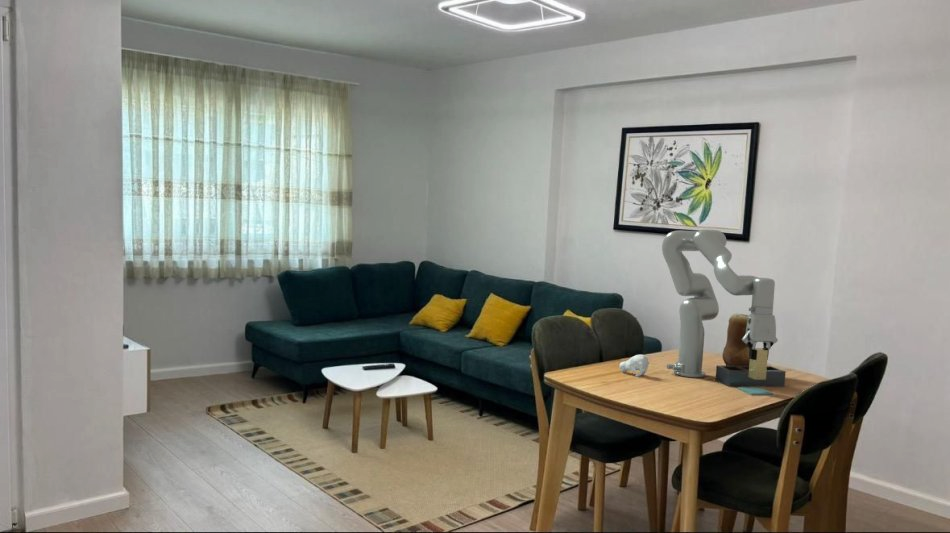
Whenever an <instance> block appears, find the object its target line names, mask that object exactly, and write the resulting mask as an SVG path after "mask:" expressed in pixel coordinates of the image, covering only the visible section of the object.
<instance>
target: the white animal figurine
mask: <svg viewBox="0 0 950 533" xmlns="http://www.w3.org/2000/svg"><path fill="white" fill-rule="evenodd" d="M649 364H650V362H649V358H648V357H647V356H646V355H644V354H635V355H634V356H632V357H631V358H629V359H627V360H625V361H621V362H620V363H619V369H620V371H621V372H622V373H623V374H624V373H627V372H628V371H631V373H634V374H635V373H636V374H635V378H638V377H641V376H644V375H646V373H647V370H648V368H649ZM637 371H639V372H637Z"/></svg>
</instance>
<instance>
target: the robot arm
mask: <svg viewBox="0 0 950 533" xmlns="http://www.w3.org/2000/svg"><path fill="white" fill-rule="evenodd" d="M726 245H727V238H726V235H725V234H724V232H722V231H720V230H718V229H701V230H673V231H670V232H668V233H667V234H666V235H665V237H663V240H662V244H661V249H662V250H661V251H662V255H663V258H664V260H665V263H666V265H667V268H668V270H669V274H670V277H671V279H672V282H673V285H674V287H675V288H674V289H675V290H676V293H677V294H679V296H682V297H688V298H686V299H685V300H683V301H682V302H681V303H680V305H679V310H678V312H679V320H680V327H679V328H680V330H679V331H680V332H679V346H678V347H679V348H678V358H677V360H678V361H675V363H674V364H669V363H667V364H666V369H667V370H673V373H674V374H675V375H678V376H682V377H685V378H686V377H687V378H694V379H695V378H698V379H699V378H704V377H706V372H705V371H703V359H704V358H703V356H704V345H705V344H704V343H705V327H704V323H703V321H712V320H714V319H716V318H717V316H718V315H719V311H720V307H719V302H718V300H717V297H716V293H715V291H714V288H713V286H712V285H713V284H712V282H711V281H710V279H709V278H708V277H707V276H706V275H705V274H703V273H700V272H693V270H692V267H691V264H690V262H689V260H688V258H687V257H686V256H685V255H684V253H683V252H700V254H702V256H704V258H706V260H707V261H708V263H710V265H711V266H712V267H713V272H714V275H715V276H714V277H715V278H716V280H717V282H718V283H719V284H720V285H721V287H722V288H723V289H724V290H725V291H726V292H727V293H729V294H730V295H732V296H751V307H749V308H748V311H749V312H750V313H749V314H748V315H749V318H748V322H747V327H746V334H745V336H744V337H743V338H742V341H743V342H744V343H746V345H747V346H748V348H749V358H750V359H752V360H755V359H756V349H755V348H757V347H756V346H757V344H758V343H762V344H763V346H762V349H765V350H768V357H767V361H768V359H769V353H770V350H771V347H773V345H774V344H776V343H777V342H778V341H779V340H778V339H777V338H778V337H777V323H776V322H777V321H776V317H775V314H774V303H775V302H774V299H775V289H776V288H775V286H776V283H775V282H776V281H775V280H774V279H773V278H770V277H758V276H754V275H737V273H736V272H734V270H733V269H732V268H731V266H730V265H729V263H730V261H731V260H732V257H733V256H732V254H733V253H732V252H731V251H730V250H729V249H728V248H727V247H726ZM690 297H691V298H690ZM748 340H750V341H748Z"/></svg>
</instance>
